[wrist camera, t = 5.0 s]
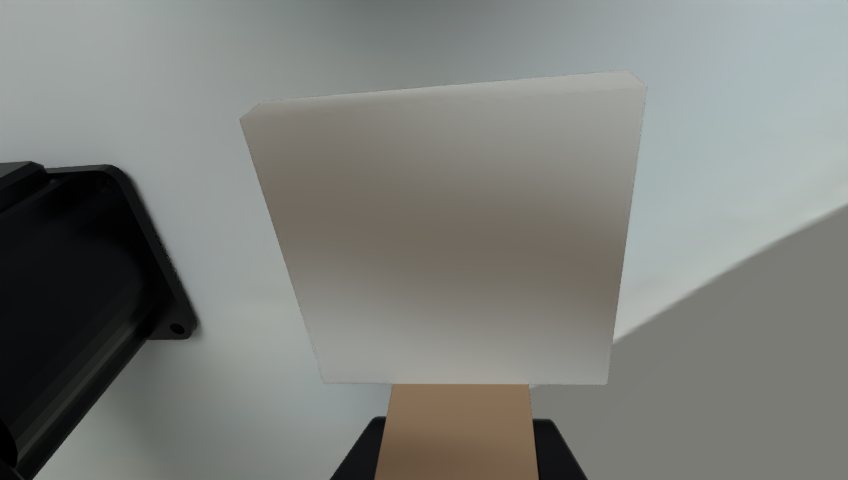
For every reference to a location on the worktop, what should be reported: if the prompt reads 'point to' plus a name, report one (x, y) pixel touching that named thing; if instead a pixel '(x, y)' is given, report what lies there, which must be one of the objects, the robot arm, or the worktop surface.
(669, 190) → the worktop surface
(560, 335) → the grey-capped brown block
